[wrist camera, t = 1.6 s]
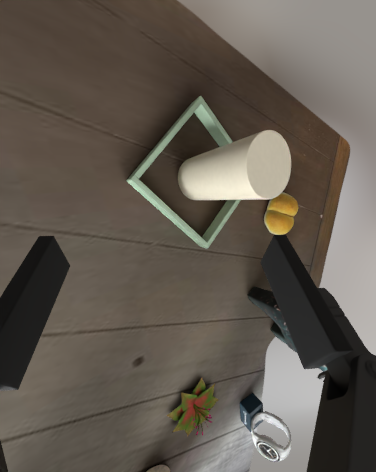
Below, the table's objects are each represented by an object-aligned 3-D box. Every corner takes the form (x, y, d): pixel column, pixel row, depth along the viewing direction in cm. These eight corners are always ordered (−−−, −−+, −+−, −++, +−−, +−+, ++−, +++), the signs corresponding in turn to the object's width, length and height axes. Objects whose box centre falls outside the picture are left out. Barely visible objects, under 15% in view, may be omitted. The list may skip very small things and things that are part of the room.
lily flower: (224, 394, 46) (238, 412, 42) (184, 443, 42) (195, 468, 38) (202, 364, 41) (216, 382, 37) (154, 415, 37) (164, 441, 33)
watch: (233, 407, 48) (272, 457, 39) (257, 388, 52) (298, 430, 42) (235, 425, 50) (273, 478, 40) (258, 405, 53) (298, 449, 44)
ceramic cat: (286, 325, 54) (386, 382, 37) (272, 345, 52) (370, 414, 35) (257, 278, 46) (368, 323, 29) (239, 300, 44) (347, 363, 27)
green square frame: (125, 180, 29) (130, 179, 27) (192, 102, 32) (200, 95, 30) (199, 246, 37) (207, 249, 35) (246, 178, 40) (256, 176, 38)
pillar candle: (169, 179, 32) (235, 165, 19) (194, 148, 33) (271, 114, 21) (197, 208, 35) (269, 212, 22) (219, 178, 37) (299, 166, 24)
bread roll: (258, 229, 44) (274, 231, 40) (269, 189, 44) (286, 187, 40) (281, 237, 48) (297, 240, 44) (291, 201, 48) (308, 201, 44)
